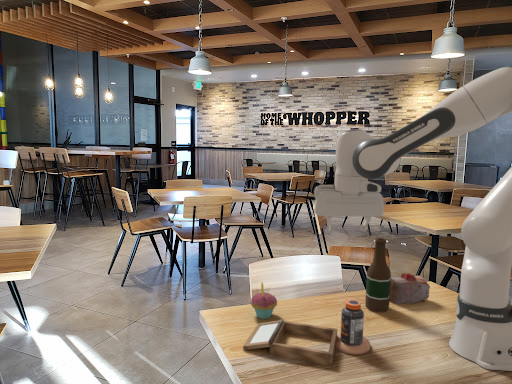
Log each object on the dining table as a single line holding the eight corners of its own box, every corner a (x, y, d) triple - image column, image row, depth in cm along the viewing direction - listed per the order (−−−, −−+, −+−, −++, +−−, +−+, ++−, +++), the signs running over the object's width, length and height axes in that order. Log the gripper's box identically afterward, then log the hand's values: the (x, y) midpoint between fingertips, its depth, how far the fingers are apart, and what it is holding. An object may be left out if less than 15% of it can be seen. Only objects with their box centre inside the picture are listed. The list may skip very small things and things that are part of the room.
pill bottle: (337, 336, 107) (339, 297, 106) (358, 335, 107) (360, 297, 106) (344, 347, 101) (345, 306, 100) (365, 346, 102) (367, 306, 100)
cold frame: (336, 339, 107) (337, 326, 107) (331, 365, 94) (332, 351, 94) (280, 330, 112) (280, 317, 112) (267, 354, 99) (267, 340, 99)
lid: (281, 330, 112) (282, 320, 112) (269, 354, 99) (269, 343, 98) (258, 326, 114) (258, 316, 114) (243, 349, 101) (243, 338, 101)
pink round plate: (370, 339, 108) (370, 335, 108) (369, 357, 98) (369, 353, 98) (334, 333, 111) (334, 330, 110) (330, 350, 101) (330, 347, 101)
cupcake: (272, 323, 117) (273, 285, 115) (246, 318, 119) (246, 282, 118) (279, 311, 125) (280, 276, 123) (255, 308, 127) (255, 273, 126)
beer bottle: (390, 313, 124) (394, 242, 122) (366, 311, 126) (369, 240, 123) (387, 304, 132) (391, 236, 129) (364, 302, 133) (367, 235, 131)
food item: (415, 294, 141) (416, 269, 140) (430, 303, 134) (432, 276, 133) (383, 298, 137) (385, 272, 136) (398, 307, 130) (399, 279, 129)
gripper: (315, 185, 110) (314, 232, 111) (387, 186, 109) (384, 233, 111) (313, 183, 116) (311, 227, 118) (380, 184, 115) (378, 229, 117)
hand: (347, 230), depth 114 cm, fingers open, 8 cm apart
